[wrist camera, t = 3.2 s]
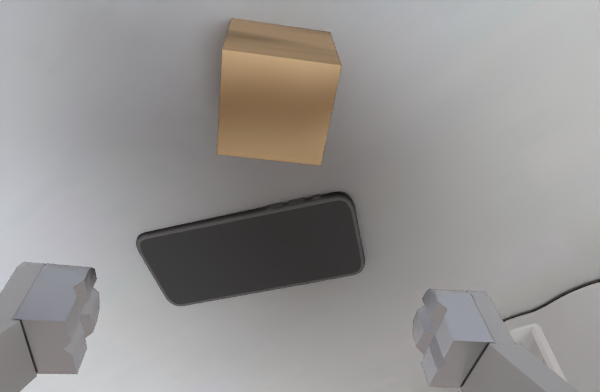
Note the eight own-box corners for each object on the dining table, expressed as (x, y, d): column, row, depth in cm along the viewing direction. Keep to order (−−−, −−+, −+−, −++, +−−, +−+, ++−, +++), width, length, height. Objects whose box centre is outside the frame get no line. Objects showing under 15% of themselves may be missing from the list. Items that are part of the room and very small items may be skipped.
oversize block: (313, 120, 26) (320, 165, 22) (226, 109, 25) (216, 154, 21) (330, 31, 23) (341, 65, 19) (231, 17, 23) (222, 49, 19)
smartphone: (128, 238, 30) (351, 192, 28) (132, 229, 31) (350, 184, 29) (171, 310, 34) (368, 274, 33) (173, 300, 35) (366, 265, 33)
